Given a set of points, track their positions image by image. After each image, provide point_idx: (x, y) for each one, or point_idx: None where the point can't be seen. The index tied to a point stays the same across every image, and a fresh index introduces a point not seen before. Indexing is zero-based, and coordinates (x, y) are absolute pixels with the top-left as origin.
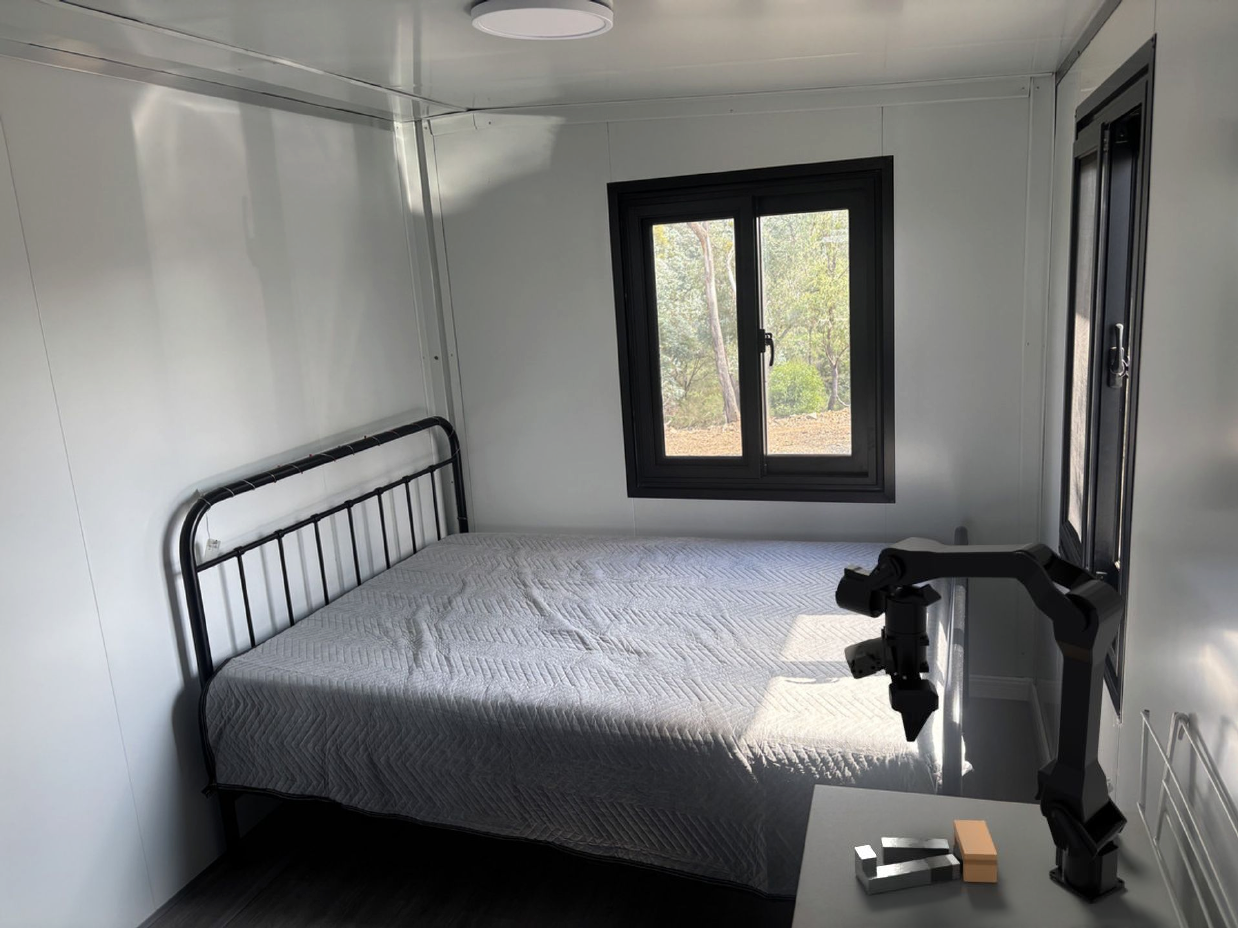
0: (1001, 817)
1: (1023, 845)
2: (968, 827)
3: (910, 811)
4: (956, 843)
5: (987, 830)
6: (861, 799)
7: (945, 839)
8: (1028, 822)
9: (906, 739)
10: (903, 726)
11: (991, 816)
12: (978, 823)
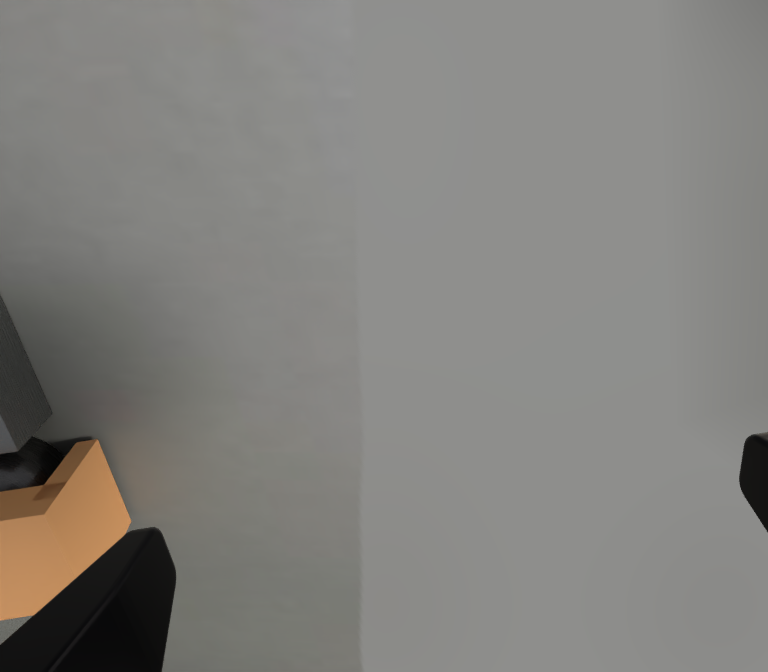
0: (328, 559)
1: (194, 604)
2: (11, 560)
3: (294, 291)
4: (5, 482)
5: (22, 614)
6: (342, 70)
7: (14, 447)
8: (318, 617)
9: (115, 543)
10: (55, 646)
11: (327, 535)
12: (58, 589)
